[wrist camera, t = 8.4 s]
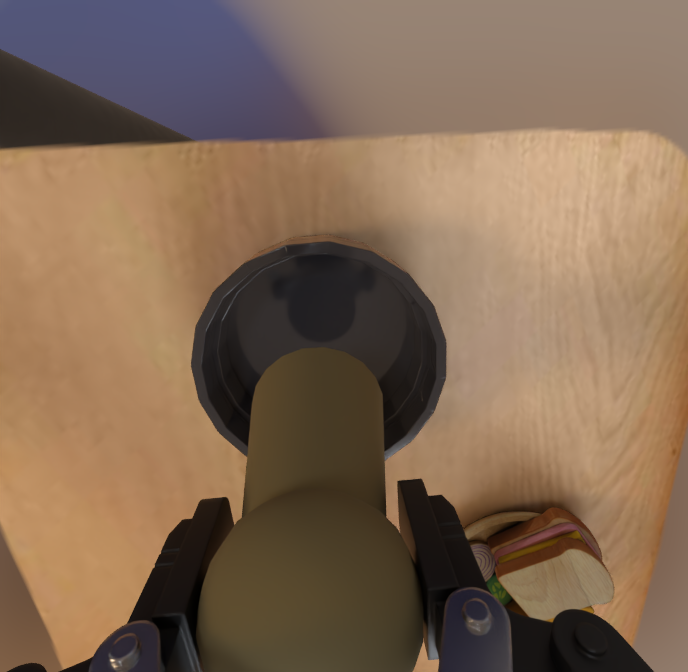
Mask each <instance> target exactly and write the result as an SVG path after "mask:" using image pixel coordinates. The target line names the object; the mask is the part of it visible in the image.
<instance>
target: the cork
mask: <svg viewBox="0 0 688 672" xmlns="http://www.w3.org/2000/svg"><path fill="white" fill-rule="evenodd" d="M196 640H197V644H198V648H199V651H200V655H201V659H202V663H203V666H204V670H205V672H412V671H413V669H414V667H415V665H416V662H417V658H418V655H419V652H420V649H421V646H422V643H423V592H422V587H421V583H420V579H419V575H418V572H417V568H416V565H415V563H414V561H413V558H412V556H411V554H410V551H409V549H408V547H407V545H406V543H405V541H404V540H403V538H402V536H401V534H400V533H399V531H398V529H397V528H396V527H395V526H394V525H393V524H392V523H391V522H390V521H389V520H388V519H387V518H386V490H385V457H384V425H383V394H382V392H381V389H380V387H379V384H378V382H377V379H376V377H375V376H374V375H373V373H372V372H371V371H370V370H369V369H368V368H367V367H366V366H365V364H364V363H363V362H361V361H360V360H358V359H356V358H354V357H353V356H351V355H349V354H348V353H346V352H343V351H339V350H335V349H330V348H326V347H317V348H303V349H300V350H297V351H295V352H292V353H289V354H287V355H284V356H282V357H281V358H279V359H278V360H277V361H276V362H274V363H273V364H272V365H271V366H269V367H268V368H267V369H266V370H265V372H264V373H263V375H262V377H261V378H260V380H259V381H258V383H257V385H256V387H255V392H254V396H253V401H252V409H251V420H250V431H249V443H248V454H247V466H246V477H245V488H244V500H243V511H242V518H241V519H240V520H239V521H237V523H236V524H235V526H234V527H233V528H232V530H231V531H230V533H229V534H228V536H227V537H226V539H225V540H224V541H223V543H222V545H221V546H220V548H219V549H218V551H217V552H216V554H215V555H214V557H213V558H212V560H211V562H210V564H209V567H208V570H207V573H206V576H205V579H204V582H203V585H202V590H201V595H200V600H199V605H198V610H197V624H196Z"/></svg>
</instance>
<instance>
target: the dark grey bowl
mask: <svg viewBox="0 0 688 672" xmlns="http://www.w3.org/2000/svg"><path fill="white" fill-rule="evenodd" d="M317 347H326V348H330V349H335V350H339V351H343V352H346V353H348V354H349V355H351V356H353V357H354V358H356V359H358V360H360V361H361V362H363V363H364V364H365V366H366V367H367V368H368V369H369V370H370V371H371V372H372V373H373V375H374V376H375V377H376V379H377V382H378V384H379V387H380V389H381V392H382V394H383V425H384V457H385V460H386V459H388V458H389V457H391V456H392V455H393V454H395V453H396V452H397V451H399V450H400V449H402V448H403V447H404V446H406V445H407V444H408V443H410V442H411V441H412V440H413V439H414V438H415V437H416V435H417V434H418V433H419V431H420V430H421V429H422V427H423V426H424V425H425V423H426V422H427V421H428V419H429V418H430V417H431V415H432V414H433V413H434V411H435V408H436V405H437V402H438V400H439V397H440V394H441V391H442V388H443V385H444V382H445V380H446V339H445V336H444V333H443V330H442V327H441V324H440V322H439V319H438V316H437V313H436V310H435V307H434V306H433V304H432V302H431V301H430V300H429V299H428V297H427V296H426V295H425V294H424V293H423V291H422V290H421V289H420V288H419V286H418V285H417V284H416V283H415V281H414V280H413V279H412V278H411V276H410V275H409V274H408V273H407V272H406V271H404V270H403V269H402V268H401V267H400V266H399V265H398V264H396V263H395V262H394V261H392V260H391V259H389V258H388V257H386V256H385V255H383V254H381V253H380V252H378V251H377V250H375V249H373V248H372V247H370V246H369V245H367V244H365V243H363V242H359V241H354V240H350V239H346V238H342V237H338V236H334V235H315V236H304V237H293V238H290V239H287V240H285V241H283V242H281V243H278V244H276V245H274V246H271V247H269V248H267V249H264V250H262V251H260V252H258V253H257V254H255V255H254V256H253V257H251V258H250V259H249V260H248V261H246V262H245V263H244V264H243V265H241V266H240V267H239V268H238V269H237V270H236V271H235V272H234V273H233V274H232V275H231V276H230V277H228V278H227V279H226V280H225V281H224V282H223V283H222V284H221V285H220V286H219V287H218V288H217V289H216V290H215V291H214V292H213V294H212V295H211V297H210V299H209V301H208V303H207V305H206V307H205V309H204V311H203V313H202V315H201V317H200V319H199V321H198V323H197V325H196V328H195V335H194V343H193V351H192V359H191V368H192V372H193V376H194V381H195V385H196V390H197V394H198V398H199V401H200V403H201V405H202V407H203V408H204V410H205V411H206V413H207V415H208V416H209V418H210V420H211V421H212V423H213V425H214V426H215V428H216V429H217V431H218V432H219V433H220V434H221V435H222V436H223V437H224V438H225V439H227V440H228V441H229V442H230V443H231V444H232V445H234V446H235V447H236V448H237V449H238V450H239V451H240V452H242V453H243V454H244V455H245V456H247V454H248V443H249V431H250V420H251V409H252V401H253V396H254V392H255V387H256V385H257V383H258V381H259V380H260V378H261V377H262V375H263V373H264V372H265V370H266V369H267V368H268V367H269V366H271V365H272V364H273V363H274V362H276V361H277V360H278V359H279V358H281V357H282V356H284V355H287V354H289V353H292V352H295V351H297V350H300V349H303V348H317Z"/></svg>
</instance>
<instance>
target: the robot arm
mask: <svg viewBox="0 0 688 672" xmlns="http://www.w3.org/2000/svg"><path fill="white" fill-rule="evenodd" d="M398 509H399V526H400V534H401V536H402V538H403V540H404V541H405V543H406V545H407V547H408V549H409V551H410V554H411V556H412V558H413V561H414V563H415V565H416V568H417V572H418V575H419V579H420V583H421V587H422V592H423V638H424V643H425V647H426V652H427V656H428V660H434V659H439V669H438V672H653V670H652V669H651V668H650V667H649V666H648V665H647V664H646V663H645V662H644V660H643V659H642V658H641V657H640V656H639V655H638V654H637V653H636V652H635V650H634V649H633V648H632V647H631V646H630V645H629V644H628V643H627V642H626V640H625V639H624V638H623V637H622V636H621V635H620V634H619V633H618V632H617V631H616V630H615V629H614V628H613V627H612V626H611V625H610V624H609V623H607V622H606V621H605V620H603V619H602V618H600V617H598V616H597V615H595V614H593V613H590V612H587V611H584V610H579V609H568V610H564V611H562V612H560V613H559V614H558V615H556V617H555V618H554V620H553V622H549V621H544V620H540V619H536V618H531V617H527V616H523V615H520V614H518V613H515V612H513V611H511V610H510V609H508V608H506V607H505V606H504V605H502V603H501V602H500V601H499V600H498V599H497V598H496V597H495V596H493V595H492V593H491V592H490V590H489V588H488V586H487V584H486V582H485V580H484V577H483V575H482V572H481V570H480V568H479V565H478V563H477V561H476V558H475V556H474V553H473V551H472V549H471V546H470V544H469V542H468V539H467V538H466V535H465V532H464V530H463V527H462V525H461V524H460V520H459V518H458V515H457V513H456V511H455V508H454V507H453V506H452V505H451V504H450V503H449V502H448V501H447V500H446V499H445V498H444V497H443V496H442V495H435V496H428V494H427V491H426V489H425V486H424V483H423V480H422V479H412V480H402V481H398ZM233 527H234V522H233V517H232V513H231V508H230V504H229V500H228V498H227V497H222V498H212V499H202V500H201V501H200V502H199V504H198V506H197V509H196V511H195V513H194V516H193V518H192V519H184V520H182V521H181V522H180V523H179V524H178V525H177V526H176V527H175V528H174V530H173V531H172V532H171V533H170V534H169V535H168V538H167V540H166V542H165V544H164V546H163V548H162V550H161V554H160V555H159V557H158V559H157V561H156V563H155V568H153V570H152V572H151V574H150V576H149V578H148V580H147V582H146V584H145V587H144V589H143V591H142V593H141V595H140V597H139V599H138V602H137V604H136V606H135V608H134V610H133V612H132V614H131V616H130V619H129V621H128V623H127V624H126V625H124V626H122V627H120V628H119V629H117V630H116V631H114V632H113V633H112V634H111V635H110V636H108V637H107V638H106V639H105V640H104V642H103V643H102V644H101V645H100V646H99V648H98V649H97V651H96V653H95V654H94V656H93V657H92V658H90V659H88V660H86V661H84V662H81V663H79V664H76V665H74V666H72V667H69V668H67V669H64V670H62V671H60V672H205V670H204V666H203V663H202V659H201V655H200V651H199V648H198V644H197V640H196V624H197V610H198V605H199V600H200V595H201V590H202V585H203V582H204V579H205V576H206V573H207V570H208V567H209V564H210V562H211V560H212V558H213V557H214V555H215V554H216V552H217V551H218V549H219V548H220V546H221V545H222V543H223V541H224V540H225V539H226V537H227V536H228V534H229V533H230V531H231V530H232V528H233ZM7 672H47V671H46V670H45V668H44V667H43V666H42V665H40V664H37V663H28V664H24V665H20V666H18V667H15V668H13V669H11V670H9V671H7Z"/></svg>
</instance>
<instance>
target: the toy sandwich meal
mask: <svg viewBox="0 0 688 672" xmlns="http://www.w3.org/2000/svg"><path fill="white" fill-rule="evenodd" d="M464 532H465V535H466V538H467V539H468V542H469V544H470V546H471V549H472V551H473V553H474V556H475V558H476V561H477V563H478V565H479V568H480V570H481V572H482V575H483V577H484V580H485V582H486V584H487V586H488V588H489V590H490V592H491V593H492V595H493V596H495V597H496V598H497V599H498V600H499V601H500V602H501V603H502V605H504V606H505V607H506V608H508V609H510V610H511V611H513V612H515V613H518V614H520V615H523V616H527V617H531V618H536V619H540V620H544V621H549V622H553V620H554V618H555V617H556V615H558V614H559V613H560V612H562V611H564V610H568V609H579V610H584V611H587V612H590V613H594V609H593V608H592V607H591V606H592V605H597V604H607V603H609V602H610V601H611V600H612V599H613V597H614V584H613V581H612V578H611V576H610V574H609V572H608V570H607V569H606V567H605V565H604V563H603V562H602V554H601V550H600V548H599V545H598V543H597V541H596V540H595V538H594V537H593V535H592V533H591V532H590V530H589V529H588V528H587V527H586V526H585V525H584V524H583V523H582V522H581V521H580V520H579V519H578V518H577V517H575V516H574V515H572V514H571V513H569V512H567V511H565V510H563V509H560V508H555V507H554V508H549V509H547V510H546V511H545V512H544V513H543V514H539V513H533V512H519V511H514V512H503V513H497V514H494V515H490V516H487V517H485V518H482V519H480V520H478V521H476V522H474V523H472V524H471V525H469V526H468V527H466V528H465V529H464Z"/></svg>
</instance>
